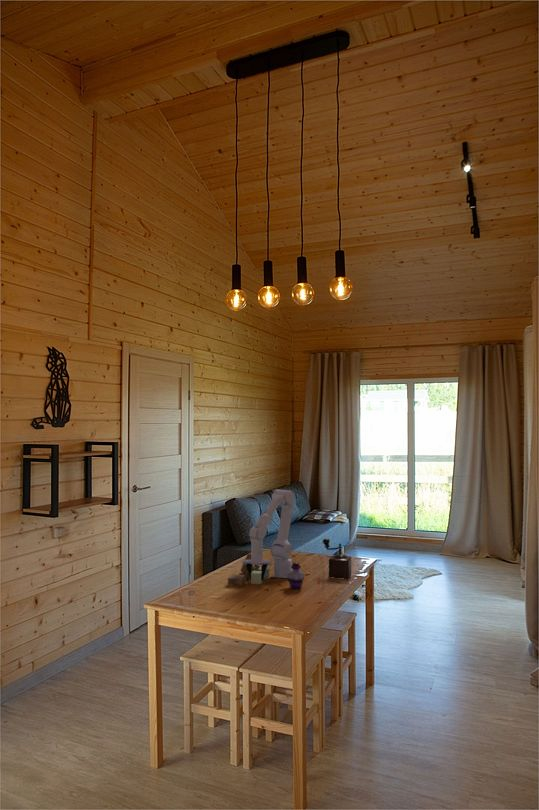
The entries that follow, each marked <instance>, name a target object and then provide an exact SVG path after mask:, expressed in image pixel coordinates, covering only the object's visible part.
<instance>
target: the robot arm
mask: <svg viewBox="0 0 539 810" xmlns="http://www.w3.org/2000/svg"><path fill="white" fill-rule="evenodd" d="M294 499H295V495H294V492H293V491H291V490H287V489H278V488H276V489H275V490H274V491H273V493H272V494H271V500H270V502H269V504H268V506H267V509H266V511H265V512H264V513H262V514H261V515H260V516H259V518H258V520H257V521H256V523H255V525H254V526H253V527H251V528H250V530H249V532H248V537H249V538H250V539H249V540H250V542H251V546H250V547H251V548H250V550H251V551H250V553H251V560H245V559H242V561H241V562H242V563H241V564H242V565H243V564H246V568H247V570H248V572H249V576H250V579H249V580H250V581H251V573H252V567H253V566H254V565H258V566H260V567H261V569H262V577H261V580H263V581H264V580H265V579H264V574H265V571H266V568H267V567H269V566H271V567H272V563H273V574H272V576H271V578H277V579H278V578H282V579H283V578H284V579H287V578H288V576H287V573H288V572H290V571H293V569H292V568H291V565H293V559H292V558H290V557H291V554H292V549H291V548H292V544H291V543H290V542H289V540H288V539H289V533H290V528H291V523H292V515H293V509H294ZM279 506H280V507H281V514H280V519H279V520H280V521H279V525H278V532H277V538H276V539H275V540H274V541H273V542H272V544H271V545H272V546H271V547H270V555H271V556H272V559H273V561H272V560H265V559H264V558H263V557H264V551H263V550H264V547H263V545H264V538H265V537H266V534H267V533H266V532H267V529H268V527H269V525H270V523H271V522H272V518H271V517H272V516H273V515H274V513H275V512H276V510H277V508H278V507H279Z"/></svg>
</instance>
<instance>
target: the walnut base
mask: <svg viewBox="0 0 539 810" xmlns="http://www.w3.org/2000/svg"><path fill="white" fill-rule="evenodd" d="M246 583H247V578H246V575H243V574H231V575H230V576H229V577H227V587H235V586H239V587H238V588H242V587H244V586H245V584H246Z"/></svg>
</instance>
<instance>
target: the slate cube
mask: <svg viewBox="0 0 539 810" xmlns="http://www.w3.org/2000/svg"><path fill="white" fill-rule="evenodd" d="M258 571H262V569H261V566H260V567H259V569H258ZM269 579H270V567H269V566H267V568H266V571H265V574H264V579H263V580H269Z"/></svg>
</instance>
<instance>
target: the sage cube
mask: <svg viewBox="0 0 539 810" xmlns="http://www.w3.org/2000/svg"><path fill="white" fill-rule="evenodd" d="M261 577H262V571H252V573H251V580H250V584H253V585H262V584H263V581H264V579H263V580H261Z"/></svg>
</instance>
